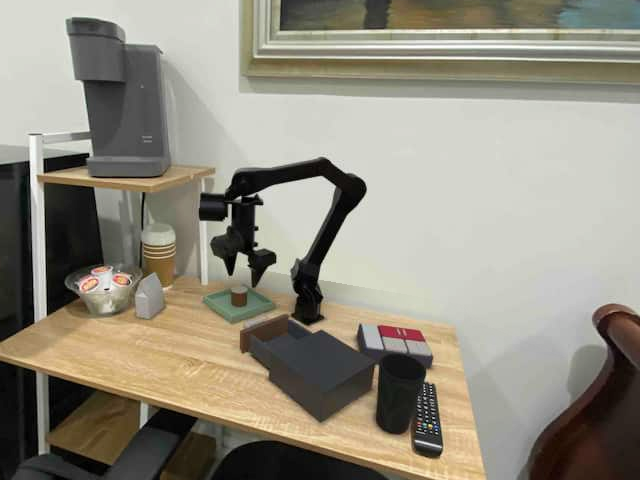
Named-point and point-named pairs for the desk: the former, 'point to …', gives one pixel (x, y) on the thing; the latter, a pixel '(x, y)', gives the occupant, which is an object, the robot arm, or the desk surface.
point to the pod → (239, 296)
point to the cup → (398, 391)
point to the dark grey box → (321, 373)
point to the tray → (233, 314)
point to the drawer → (269, 336)
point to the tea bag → (149, 297)
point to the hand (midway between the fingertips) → (242, 281)
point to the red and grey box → (393, 343)
